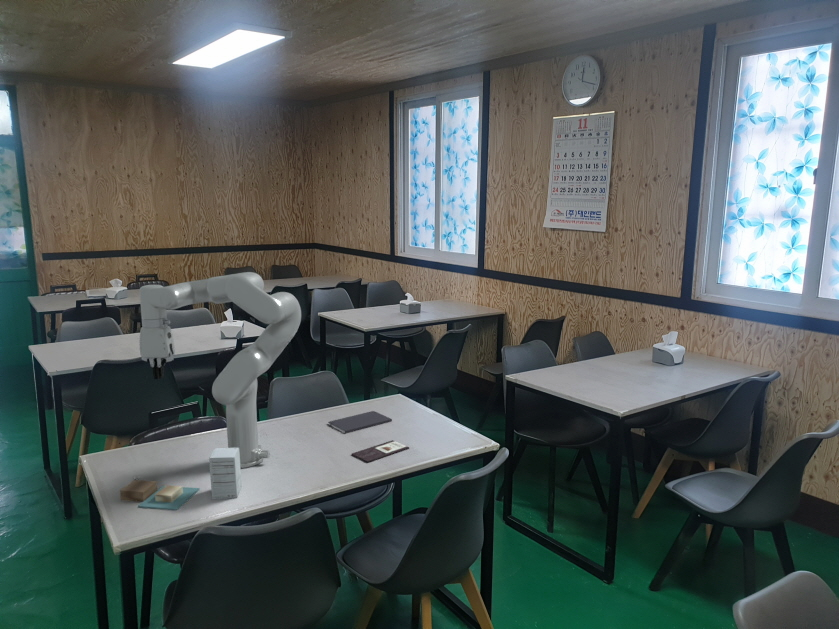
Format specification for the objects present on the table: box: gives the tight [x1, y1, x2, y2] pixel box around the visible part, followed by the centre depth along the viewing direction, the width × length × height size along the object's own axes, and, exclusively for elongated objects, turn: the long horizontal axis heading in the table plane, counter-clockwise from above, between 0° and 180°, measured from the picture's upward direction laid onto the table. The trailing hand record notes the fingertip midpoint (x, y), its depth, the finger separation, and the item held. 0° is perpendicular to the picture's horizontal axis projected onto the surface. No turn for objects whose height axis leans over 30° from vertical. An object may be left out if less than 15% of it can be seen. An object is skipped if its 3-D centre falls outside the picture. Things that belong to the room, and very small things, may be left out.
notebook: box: [328, 410, 393, 435], centre depth 244 cm, size 13×2×21 cm
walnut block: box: [119, 479, 158, 503], centre depth 184 cm, size 7×7×3 cm
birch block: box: [155, 484, 184, 502], centre depth 182 cm, size 5×6×2 cm
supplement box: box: [208, 447, 243, 500], centre depth 185 cm, size 7×7×13 cm
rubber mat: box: [137, 485, 201, 511], centre depth 183 cm, size 12×13×1 cm
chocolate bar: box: [351, 439, 410, 464], centre depth 216 cm, size 9×1×18 cm
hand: (159, 377), depth 208 cm, fingers closed
